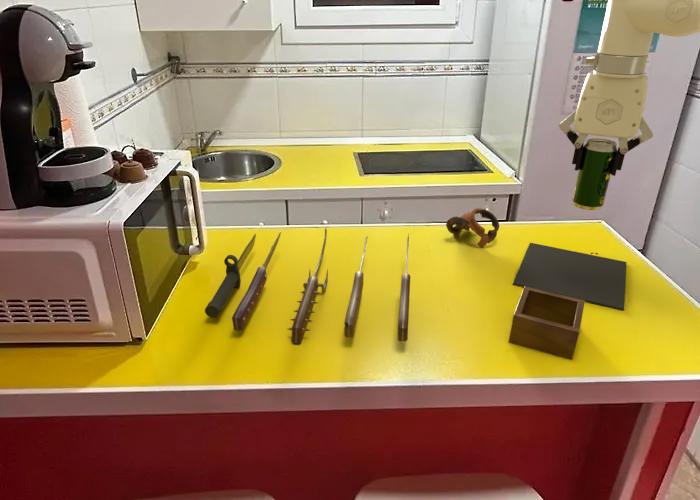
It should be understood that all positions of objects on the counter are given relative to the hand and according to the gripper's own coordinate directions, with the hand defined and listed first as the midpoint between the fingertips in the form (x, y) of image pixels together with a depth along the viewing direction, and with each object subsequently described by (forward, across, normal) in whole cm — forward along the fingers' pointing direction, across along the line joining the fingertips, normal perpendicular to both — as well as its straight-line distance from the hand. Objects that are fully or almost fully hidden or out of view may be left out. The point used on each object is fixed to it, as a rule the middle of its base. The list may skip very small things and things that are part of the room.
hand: (595, 169), depth 94 cm
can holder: (+23, -2, -21) cm, 31 cm away
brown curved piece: (+23, -23, +9) cm, 34 cm away
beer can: (+7, 0, 0) cm, 7 cm away
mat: (+23, 0, +3) cm, 23 cm away
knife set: (+23, -43, -26) cm, 56 cm away
